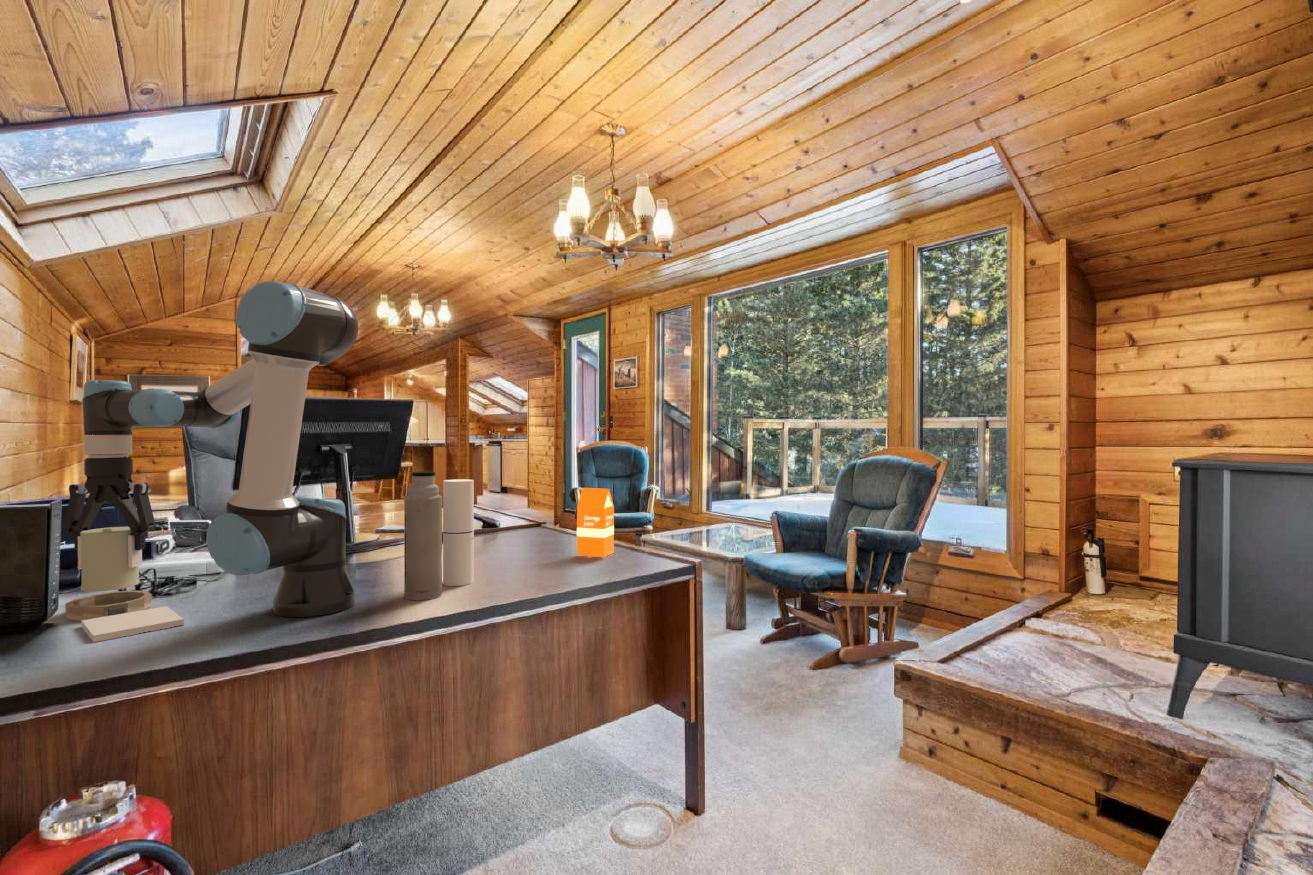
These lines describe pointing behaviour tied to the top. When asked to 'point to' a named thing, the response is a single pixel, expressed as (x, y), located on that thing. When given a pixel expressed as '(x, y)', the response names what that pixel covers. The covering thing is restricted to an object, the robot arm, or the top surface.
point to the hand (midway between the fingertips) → (110, 566)
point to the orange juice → (595, 523)
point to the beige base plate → (130, 623)
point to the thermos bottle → (423, 538)
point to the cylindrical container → (458, 532)
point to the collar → (107, 604)
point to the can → (106, 560)
